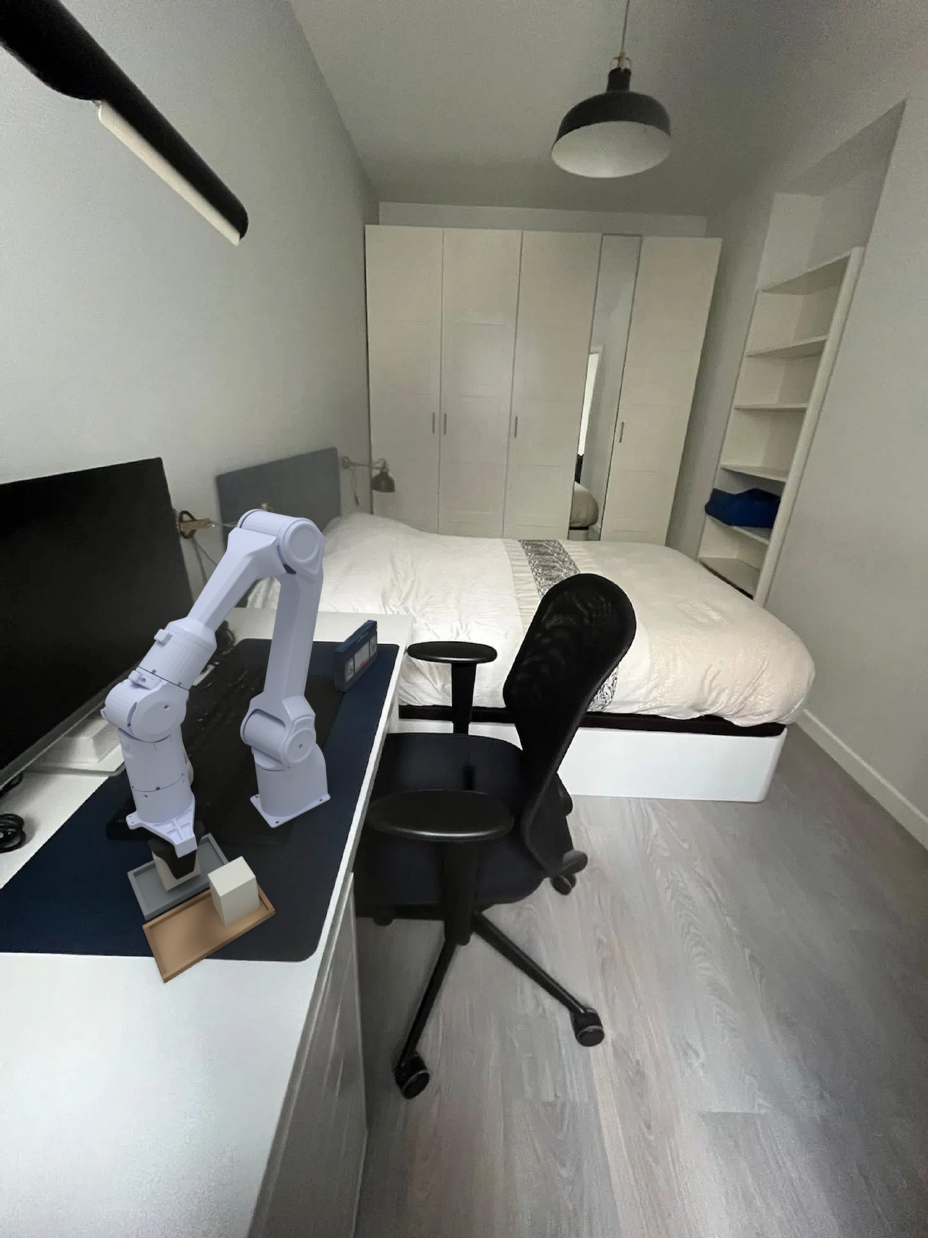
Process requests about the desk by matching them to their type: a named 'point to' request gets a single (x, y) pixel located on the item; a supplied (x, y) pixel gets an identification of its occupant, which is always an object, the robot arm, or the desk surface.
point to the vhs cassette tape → (355, 655)
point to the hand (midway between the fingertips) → (178, 862)
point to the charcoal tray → (159, 900)
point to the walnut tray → (196, 932)
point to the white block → (167, 876)
